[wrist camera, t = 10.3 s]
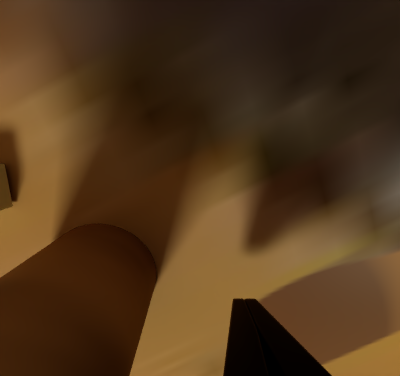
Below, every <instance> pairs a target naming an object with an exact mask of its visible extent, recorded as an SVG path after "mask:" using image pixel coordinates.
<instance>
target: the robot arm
mask: <svg viewBox="0 0 400 376" xmlns="http://www.w3.org/2000/svg"><path fill="white" fill-rule="evenodd" d="M223 376H332V375H331V374H330V373H329V372H328V371H327V370H326V369H325V368H324V367H323V366H322V365H321V364H320V363H319V362H317V360H316V359H315V358H314V357H313V356H312V355H311V354H310V353H309V352H308V351H307V350H306V349H305V348H304V347H303V346H302V345H301V344H300V343H299V342H298V341H297V340H296V339H295V338H294V337H293V336H292V335H291V334H290V333H289V332H288V331H287V330H286V329H285V328H284V327H283V326H282V325H281V324H280V323H279V322H278V321H277V320H276V319H275V318H274V317H273V316H272V315H271V314H270V313H269V312H268V311H267V310H266V309H265V308H264V307H263V306H262V305H261V304H260V303H259V302H258V301H257V300H256V299H245V300H244V299H233V303H232V311H231V319H230V327H229V335H228V343H227V350H226V358H225V366H224V374H223Z"/></svg>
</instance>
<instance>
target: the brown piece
mask: <svg viewBox="0 0 400 376" xmlns="http://www.w3.org/2000/svg"><path fill="white" fill-rule="evenodd" d="M155 283H156V266H155V262H154V260H153V257H152V255H151V253H150V252H149V250H148V249H147V247H146V246H145V245H144V244H143V243H142V242H141V241H140V240H139V239H138V238H137V237H135V236H134V235H133V234H131V233H129V232H128V231H126V230H123V229H121V228H118V227H115V226H111V225H106V224H89V225H83V226H80V227H77V228H75V229H73V230H70V231H69V232H67V233H66V234H64V235H63V236H61V237H60V238H58V239H57V240H55V241H54V242H52V243H51V244H49V245H48V246H47V247H45V248H44V249H42V250H41V251H39V252H38V253H36V254H35V255H33V256H32V257H30V258H29V259H27V260H26V261H24V262H23V263H22V264H20V265H19V266H17V267H16V268H14V269H13V270H11V271H10V272H8V273H7V274H5V275H4V276H2V277H1V278H0V376H129V375H130V372H131V368H132V365H133V361H134V357H135V354H136V350H137V347H138V343H139V340H140V336H141V333H142V329H143V326H144V322H145V319H146V315H147V312H148V308H149V305H150V301H151V298H152V294H153V291H154V287H155Z"/></svg>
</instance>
